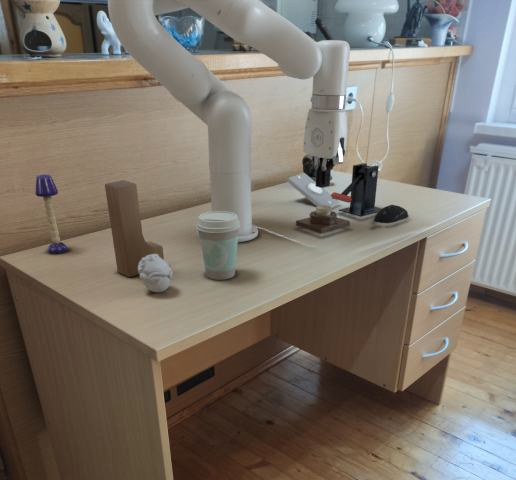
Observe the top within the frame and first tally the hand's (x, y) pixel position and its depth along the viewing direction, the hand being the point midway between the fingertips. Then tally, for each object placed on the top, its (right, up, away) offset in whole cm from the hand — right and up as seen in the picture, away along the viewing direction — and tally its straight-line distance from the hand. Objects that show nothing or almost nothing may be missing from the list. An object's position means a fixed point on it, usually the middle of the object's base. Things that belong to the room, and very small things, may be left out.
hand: (322, 186), depth 128 cm
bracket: (+13, -2, +17) cm, 22 cm away
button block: (+1, -9, +5) cm, 11 cm away
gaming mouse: (+18, -6, +10) cm, 22 cm away
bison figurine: (+4, +14, +47) cm, 49 cm away
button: (+1, -6, +4) cm, 7 cm away
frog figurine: (-35, -28, -27) cm, 52 cm away
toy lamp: (-61, -17, -6) cm, 64 cm away
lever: (+10, +3, +12) cm, 16 cm away
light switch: (0, +2, +25) cm, 25 cm away
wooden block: (-40, -23, -17) cm, 49 cm away
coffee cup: (-23, -24, -20) cm, 39 cm away
